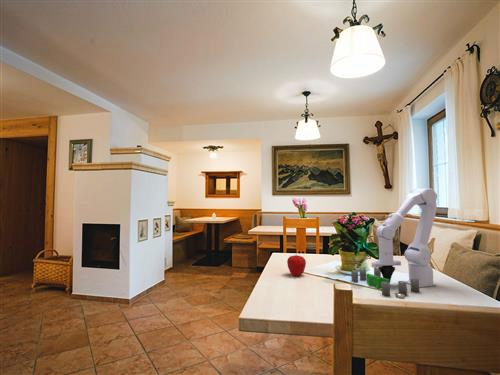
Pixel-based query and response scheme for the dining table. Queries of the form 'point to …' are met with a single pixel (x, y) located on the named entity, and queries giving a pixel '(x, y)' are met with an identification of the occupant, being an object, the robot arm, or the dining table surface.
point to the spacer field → (387, 282)
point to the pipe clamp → (376, 280)
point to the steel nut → (399, 295)
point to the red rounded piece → (296, 265)
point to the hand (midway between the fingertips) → (387, 282)
